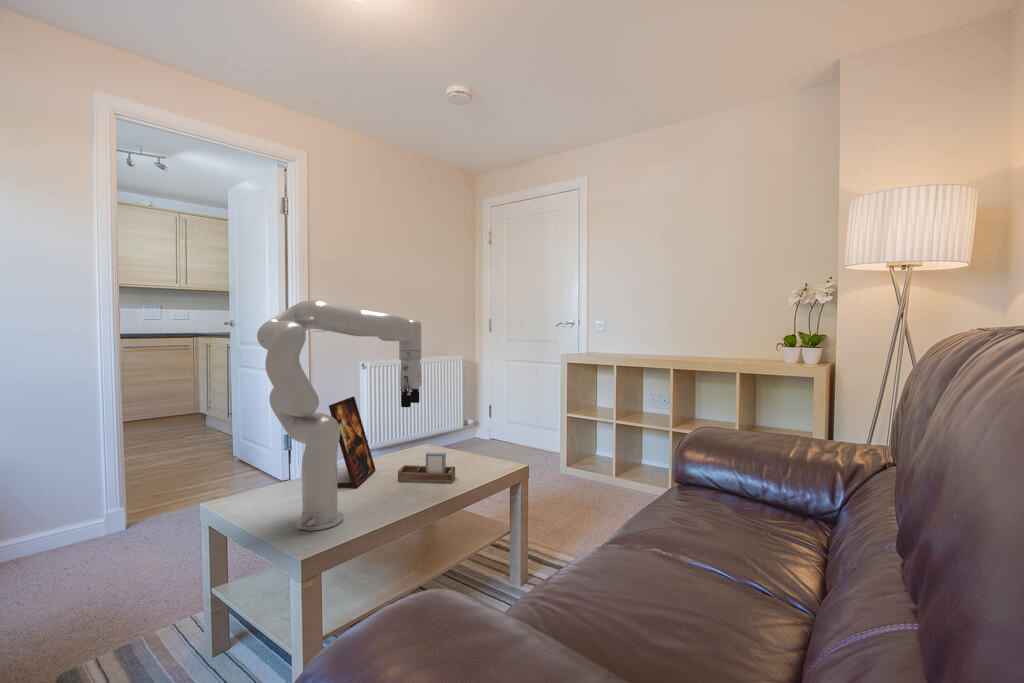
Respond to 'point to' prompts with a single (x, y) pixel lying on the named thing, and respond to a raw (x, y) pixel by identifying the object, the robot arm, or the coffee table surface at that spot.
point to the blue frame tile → (436, 462)
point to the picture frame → (353, 442)
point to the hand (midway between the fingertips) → (410, 404)
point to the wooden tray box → (424, 475)
